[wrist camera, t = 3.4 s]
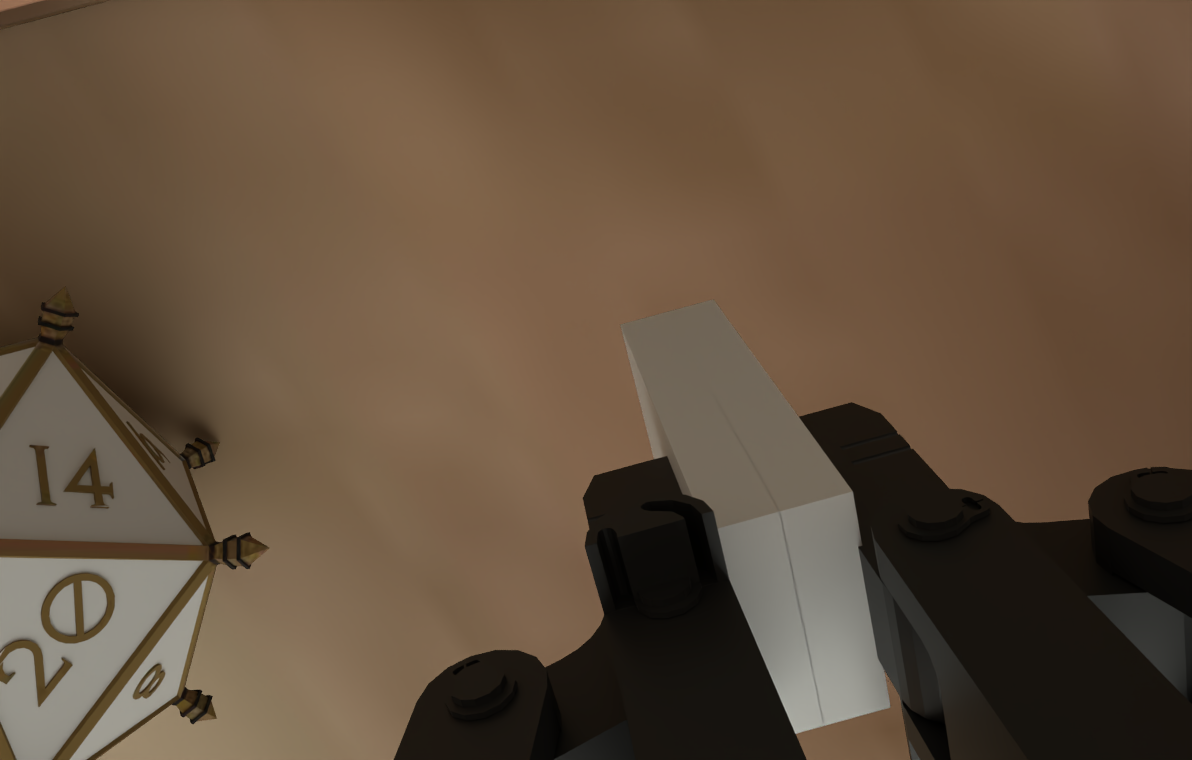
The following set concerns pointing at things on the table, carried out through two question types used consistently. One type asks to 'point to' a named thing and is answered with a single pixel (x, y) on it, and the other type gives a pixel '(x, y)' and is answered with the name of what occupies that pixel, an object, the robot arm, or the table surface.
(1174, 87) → the table surface
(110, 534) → the game die
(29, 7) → the board
